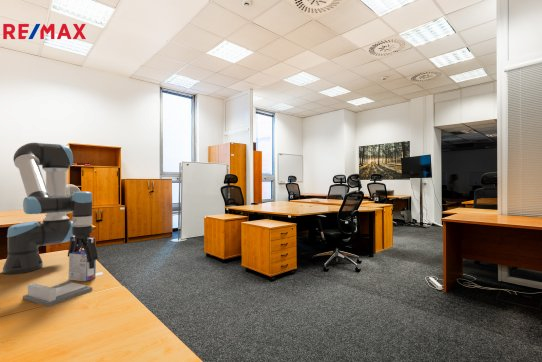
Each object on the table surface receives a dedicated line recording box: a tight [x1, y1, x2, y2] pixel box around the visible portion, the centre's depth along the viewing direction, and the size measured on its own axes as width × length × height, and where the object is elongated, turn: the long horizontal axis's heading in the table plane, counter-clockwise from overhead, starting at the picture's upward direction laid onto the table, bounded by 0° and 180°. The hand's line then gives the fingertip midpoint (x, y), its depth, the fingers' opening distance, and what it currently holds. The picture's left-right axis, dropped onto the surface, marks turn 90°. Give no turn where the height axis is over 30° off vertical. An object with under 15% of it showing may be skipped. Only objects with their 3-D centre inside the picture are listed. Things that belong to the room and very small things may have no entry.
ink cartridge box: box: [68, 247, 97, 282], centre depth 127 cm, size 10×6×14 cm, turn 78°
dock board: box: [22, 281, 93, 307], centre depth 110 cm, size 16×16×5 cm
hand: (82, 273), depth 127 cm, fingers closed on ink cartridge box, 10 cm apart
